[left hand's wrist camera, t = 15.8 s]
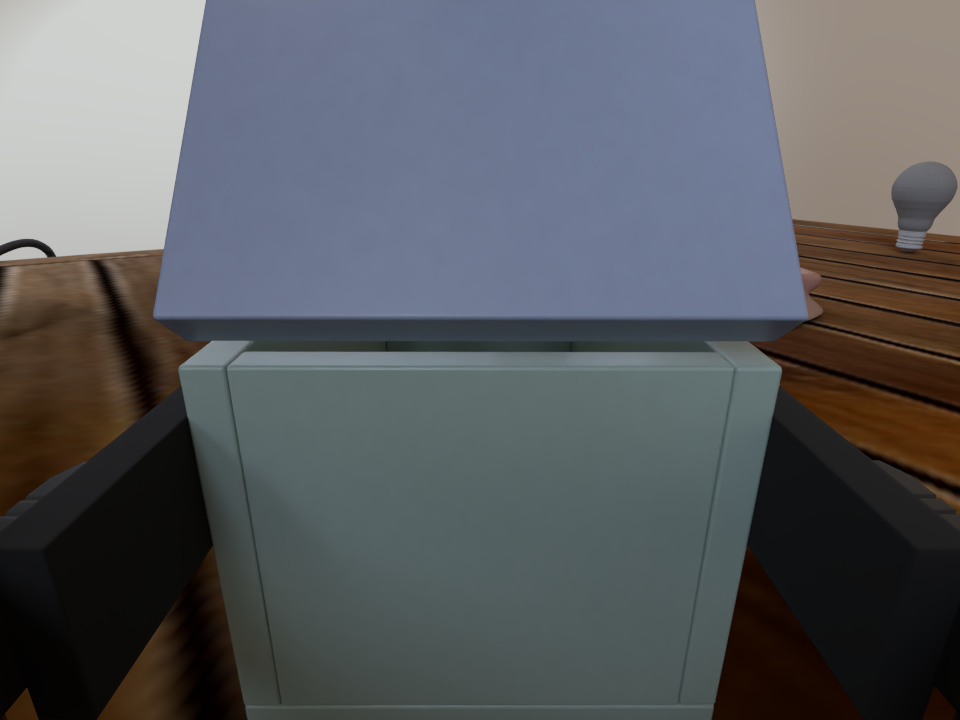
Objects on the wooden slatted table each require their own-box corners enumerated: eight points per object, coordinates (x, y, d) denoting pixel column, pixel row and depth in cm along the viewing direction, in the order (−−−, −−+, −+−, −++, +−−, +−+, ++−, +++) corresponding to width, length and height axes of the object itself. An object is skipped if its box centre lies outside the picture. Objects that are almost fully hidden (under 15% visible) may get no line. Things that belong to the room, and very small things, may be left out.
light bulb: (890, 254, 67) (913, 162, 64) (869, 245, 73) (889, 160, 69) (949, 256, 66) (976, 162, 63) (923, 247, 72) (946, 161, 68)
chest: (375, 400, 29) (363, 222, 26) (581, 400, 29) (593, 222, 26) (248, 733, 13) (176, 367, 10) (710, 732, 13) (785, 367, 10)
